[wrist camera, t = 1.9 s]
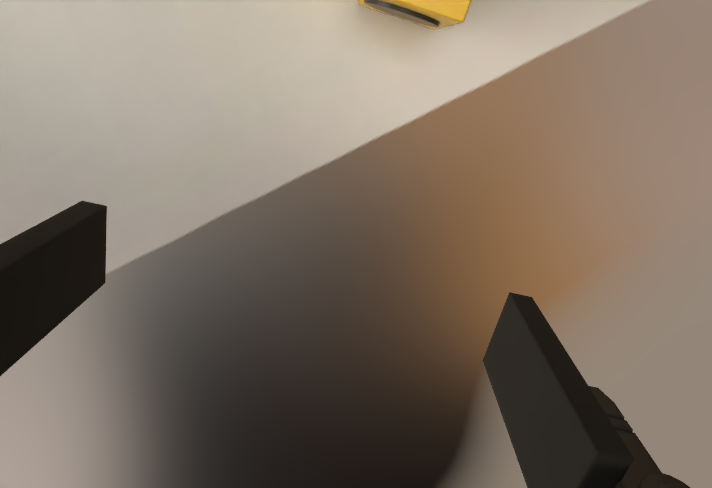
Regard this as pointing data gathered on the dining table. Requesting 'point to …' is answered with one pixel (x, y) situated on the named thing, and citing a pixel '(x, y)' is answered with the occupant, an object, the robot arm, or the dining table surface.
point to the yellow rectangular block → (423, 10)
